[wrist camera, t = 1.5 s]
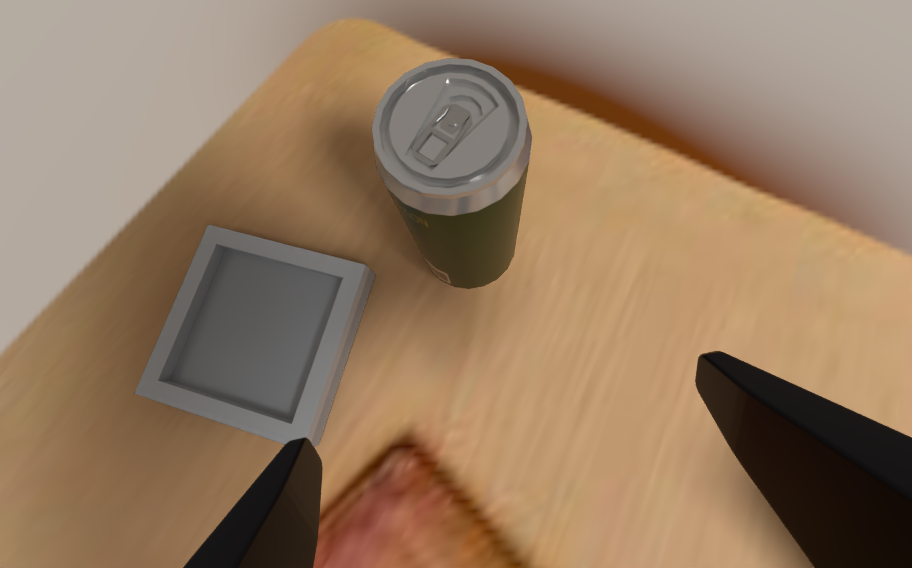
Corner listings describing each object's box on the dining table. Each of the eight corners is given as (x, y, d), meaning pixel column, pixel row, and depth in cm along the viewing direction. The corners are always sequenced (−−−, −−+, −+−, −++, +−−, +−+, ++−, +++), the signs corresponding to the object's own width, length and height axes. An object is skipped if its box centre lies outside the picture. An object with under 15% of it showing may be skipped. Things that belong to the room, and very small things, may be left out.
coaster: (375, 274, 25) (365, 264, 23) (318, 444, 22) (302, 450, 21) (229, 236, 26) (208, 224, 24) (163, 393, 24) (134, 393, 22)
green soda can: (480, 309, 24) (469, 235, 12) (407, 259, 25) (331, 146, 13) (532, 236, 24) (569, 99, 13) (458, 190, 25) (430, 27, 14)
